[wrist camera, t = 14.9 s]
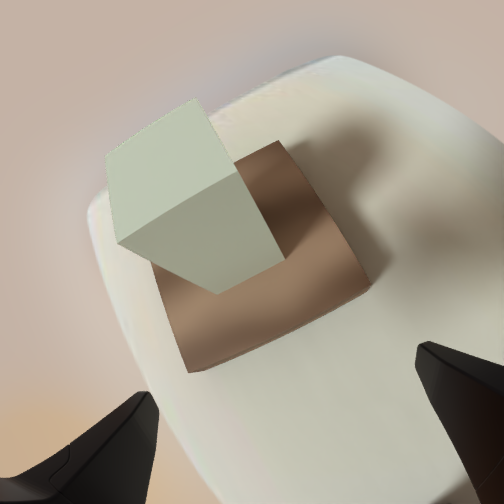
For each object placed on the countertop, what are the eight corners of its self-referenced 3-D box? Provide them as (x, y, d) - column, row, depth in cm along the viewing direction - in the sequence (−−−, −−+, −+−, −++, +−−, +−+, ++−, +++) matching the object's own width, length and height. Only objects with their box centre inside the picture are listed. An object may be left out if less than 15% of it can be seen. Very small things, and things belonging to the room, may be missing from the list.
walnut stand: (366, 291, 19) (371, 284, 16) (203, 370, 20) (188, 373, 17) (283, 158, 24) (278, 140, 21) (155, 229, 25) (139, 218, 23)
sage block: (285, 259, 18) (237, 170, 9) (217, 294, 19) (116, 243, 10) (253, 200, 20) (196, 97, 11) (193, 233, 21) (104, 156, 12)
